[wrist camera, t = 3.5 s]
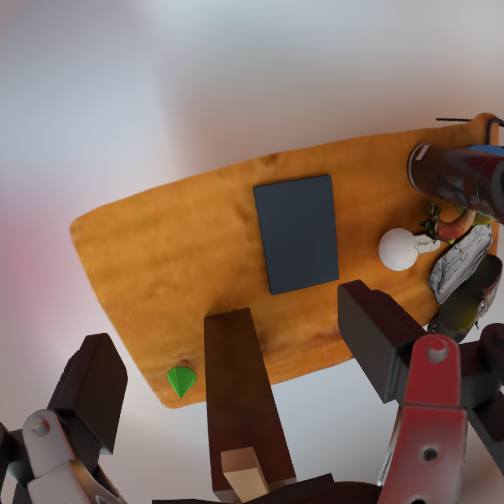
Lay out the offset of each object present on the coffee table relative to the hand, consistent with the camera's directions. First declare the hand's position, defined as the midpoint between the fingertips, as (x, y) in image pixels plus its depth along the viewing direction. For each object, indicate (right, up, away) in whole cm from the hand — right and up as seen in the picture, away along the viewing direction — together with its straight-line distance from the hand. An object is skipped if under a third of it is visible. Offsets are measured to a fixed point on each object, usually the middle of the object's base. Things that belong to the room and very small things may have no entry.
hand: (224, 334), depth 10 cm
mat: (+8, +5, +38) cm, 40 cm away
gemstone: (-13, -22, +46) cm, 52 cm away
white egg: (+26, -1, +38) cm, 46 cm away
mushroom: (+35, +3, +34) cm, 49 cm away
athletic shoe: (+50, -8, +39) cm, 63 cm away
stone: (+50, -2, +46) cm, 68 cm away
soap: (+35, +4, +41) cm, 54 cm away
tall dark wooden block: (-2, -13, +44) cm, 46 cm away
